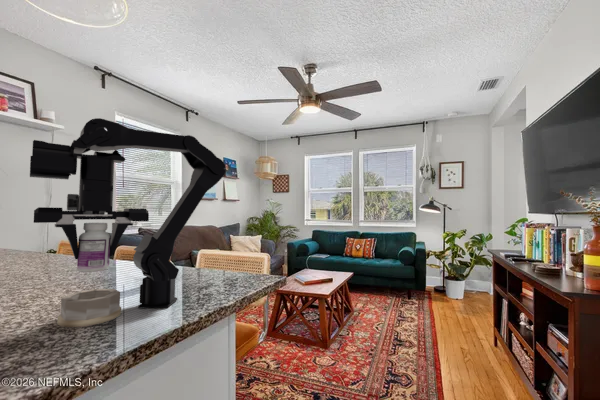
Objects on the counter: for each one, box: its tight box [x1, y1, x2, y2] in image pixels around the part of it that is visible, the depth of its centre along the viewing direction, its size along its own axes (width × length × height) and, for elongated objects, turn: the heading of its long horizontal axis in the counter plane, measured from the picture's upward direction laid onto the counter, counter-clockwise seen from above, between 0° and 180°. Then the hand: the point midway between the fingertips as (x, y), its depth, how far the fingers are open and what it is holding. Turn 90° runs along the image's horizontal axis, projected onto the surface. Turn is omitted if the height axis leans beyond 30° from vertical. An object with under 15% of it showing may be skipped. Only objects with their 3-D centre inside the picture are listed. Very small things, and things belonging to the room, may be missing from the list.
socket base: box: [56, 288, 122, 328], centre depth 58 cm, size 10×10×4 cm
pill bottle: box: [76, 222, 111, 273], centre depth 59 cm, size 5×5×10 cm
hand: (94, 257), depth 59 cm, fingers closed on pill bottle, 5 cm apart
